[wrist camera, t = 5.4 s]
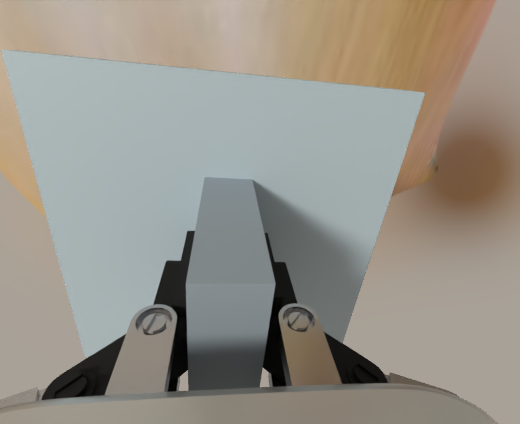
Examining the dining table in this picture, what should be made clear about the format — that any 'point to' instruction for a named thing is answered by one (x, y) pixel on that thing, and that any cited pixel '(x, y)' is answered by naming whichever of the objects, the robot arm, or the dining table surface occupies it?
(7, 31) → the dining table surface
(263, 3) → the dining table surface
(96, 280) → the lid
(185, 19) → the dining table surface
